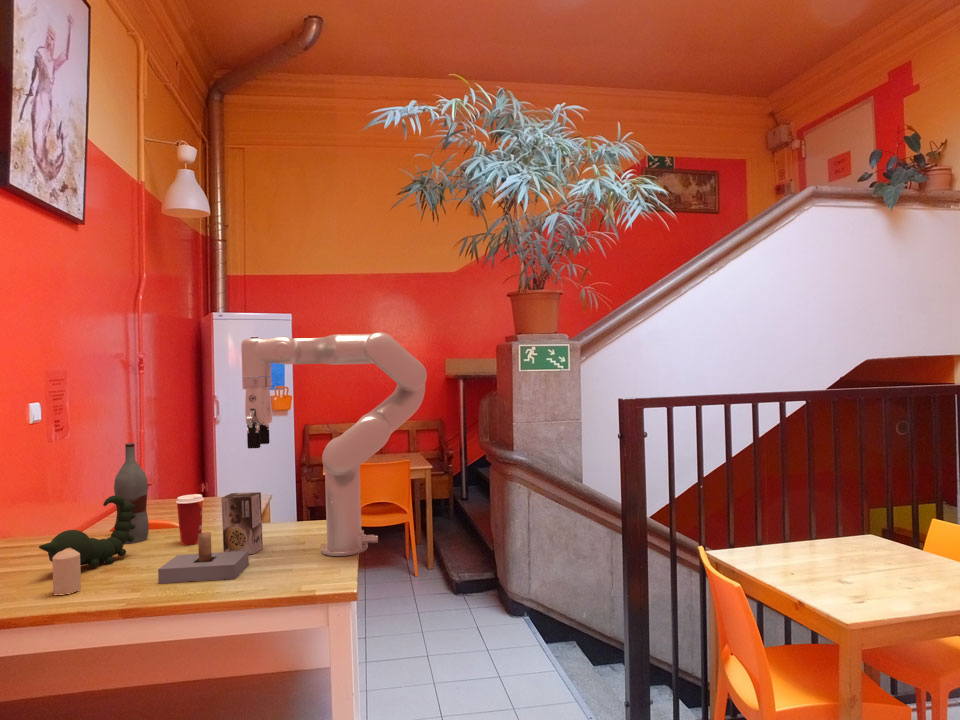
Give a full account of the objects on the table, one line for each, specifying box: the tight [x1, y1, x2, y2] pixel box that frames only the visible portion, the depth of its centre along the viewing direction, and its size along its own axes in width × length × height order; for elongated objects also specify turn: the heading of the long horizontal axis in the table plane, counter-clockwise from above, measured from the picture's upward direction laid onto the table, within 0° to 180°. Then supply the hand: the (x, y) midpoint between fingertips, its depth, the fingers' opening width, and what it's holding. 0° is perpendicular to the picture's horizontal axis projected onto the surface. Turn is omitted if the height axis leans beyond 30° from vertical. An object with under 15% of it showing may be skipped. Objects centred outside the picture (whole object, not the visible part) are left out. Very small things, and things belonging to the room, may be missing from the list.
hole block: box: [157, 551, 250, 584], centre depth 161 cm, size 18×12×4 cm, turn 95°
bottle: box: [113, 442, 150, 545], centre depth 197 cm, size 9×9×30 cm
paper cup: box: [175, 493, 205, 547], centre depth 192 cm, size 8×8×14 cm
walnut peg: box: [197, 532, 213, 562], centre depth 161 cm, size 3×3×10 cm
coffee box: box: [220, 491, 264, 555], centre depth 180 cm, size 9×6×16 cm
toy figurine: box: [38, 494, 136, 569], centre depth 170 cm, size 9×19×25 cm
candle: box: [51, 548, 82, 595], centre depth 151 cm, size 6×6×10 cm
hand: (258, 446), depth 174 cm, fingers open, 9 cm apart
